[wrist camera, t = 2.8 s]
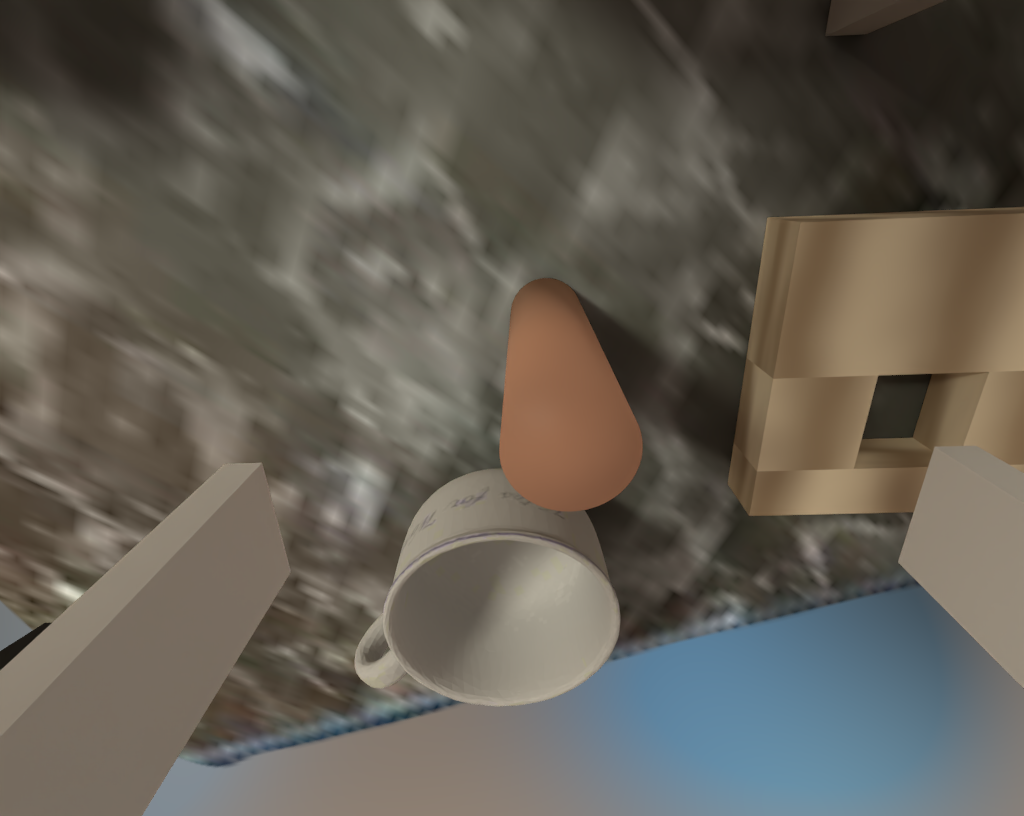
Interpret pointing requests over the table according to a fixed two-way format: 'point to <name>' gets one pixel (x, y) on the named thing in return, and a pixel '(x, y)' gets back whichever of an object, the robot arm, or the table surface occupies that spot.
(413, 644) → the teacup
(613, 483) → the peg
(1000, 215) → the socket block
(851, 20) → the green-topped stool
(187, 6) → the table surface
